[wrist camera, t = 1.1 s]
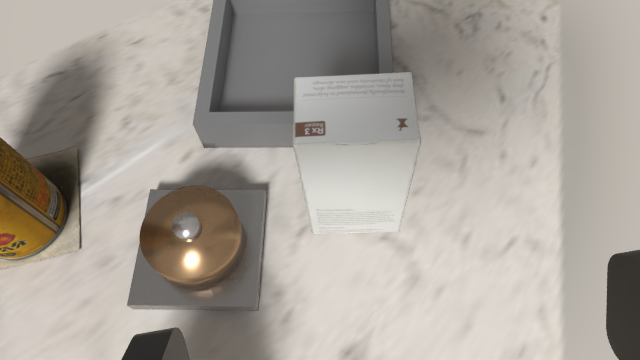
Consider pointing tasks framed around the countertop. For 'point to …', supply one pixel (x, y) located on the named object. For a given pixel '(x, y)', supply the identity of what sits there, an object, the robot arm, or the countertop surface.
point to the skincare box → (355, 149)
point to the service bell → (200, 250)
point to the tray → (281, 62)
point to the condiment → (37, 206)
